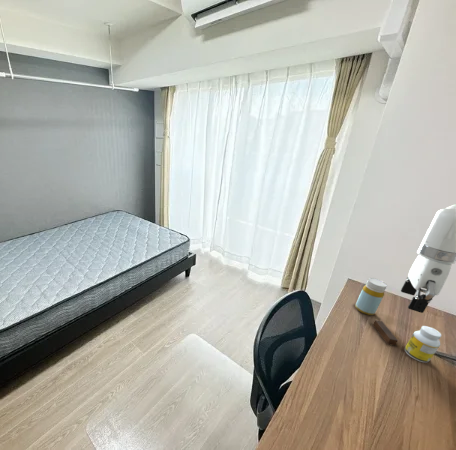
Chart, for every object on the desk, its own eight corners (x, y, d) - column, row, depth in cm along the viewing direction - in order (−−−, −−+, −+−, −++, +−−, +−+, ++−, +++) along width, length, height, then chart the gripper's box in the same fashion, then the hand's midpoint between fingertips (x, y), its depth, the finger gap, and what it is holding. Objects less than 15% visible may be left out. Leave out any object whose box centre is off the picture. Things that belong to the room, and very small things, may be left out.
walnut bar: (372, 324, 100) (375, 319, 99) (379, 325, 100) (382, 321, 99) (387, 343, 91) (390, 338, 90) (395, 345, 91) (398, 340, 90)
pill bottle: (405, 344, 91) (419, 320, 87) (429, 356, 87) (445, 332, 82) (402, 354, 87) (417, 329, 83) (428, 367, 83) (445, 341, 78)
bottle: (372, 308, 109) (386, 280, 104) (376, 318, 104) (390, 289, 98) (353, 302, 113) (365, 275, 107) (356, 311, 107) (368, 283, 101)
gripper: (470, 270, 60) (437, 324, 66) (445, 245, 73) (419, 292, 79) (428, 260, 63) (400, 312, 70) (411, 238, 77) (389, 283, 83)
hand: (410, 301), depth 75 cm, fingers open, 9 cm apart
